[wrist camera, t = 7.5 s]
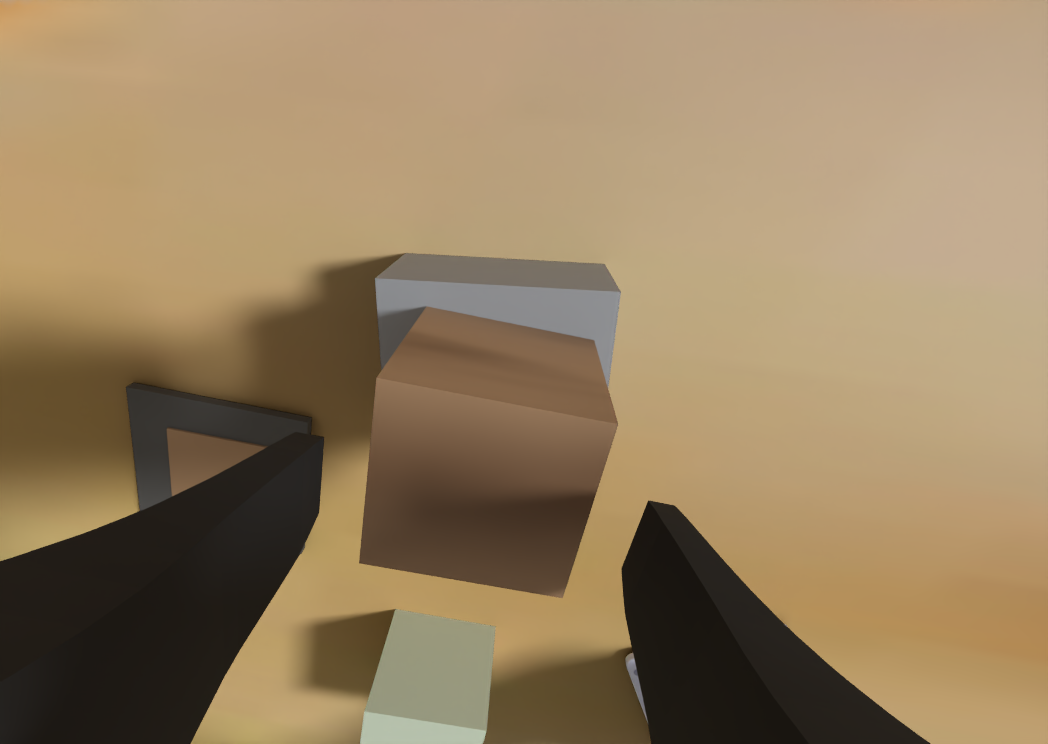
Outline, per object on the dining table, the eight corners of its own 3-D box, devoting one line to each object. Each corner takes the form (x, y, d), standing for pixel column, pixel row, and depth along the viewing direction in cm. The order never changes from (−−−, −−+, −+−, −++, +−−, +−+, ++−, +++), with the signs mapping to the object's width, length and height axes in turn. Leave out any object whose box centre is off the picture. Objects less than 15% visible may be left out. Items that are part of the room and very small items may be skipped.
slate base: (584, 432, 21) (594, 492, 17) (414, 422, 21) (389, 481, 17) (603, 262, 18) (620, 292, 14) (407, 251, 18) (375, 278, 14)
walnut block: (556, 477, 17) (562, 598, 12) (408, 449, 17) (358, 562, 12) (593, 339, 15) (618, 424, 10) (426, 306, 15) (376, 377, 10)
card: (304, 547, 23) (300, 555, 23) (147, 519, 23) (140, 527, 22) (312, 417, 21) (306, 423, 20) (133, 382, 20) (123, 388, 20)
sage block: (477, 688, 27) (465, 798, 23) (385, 673, 27) (354, 781, 22) (495, 625, 25) (486, 730, 21) (395, 607, 25) (364, 711, 20)
